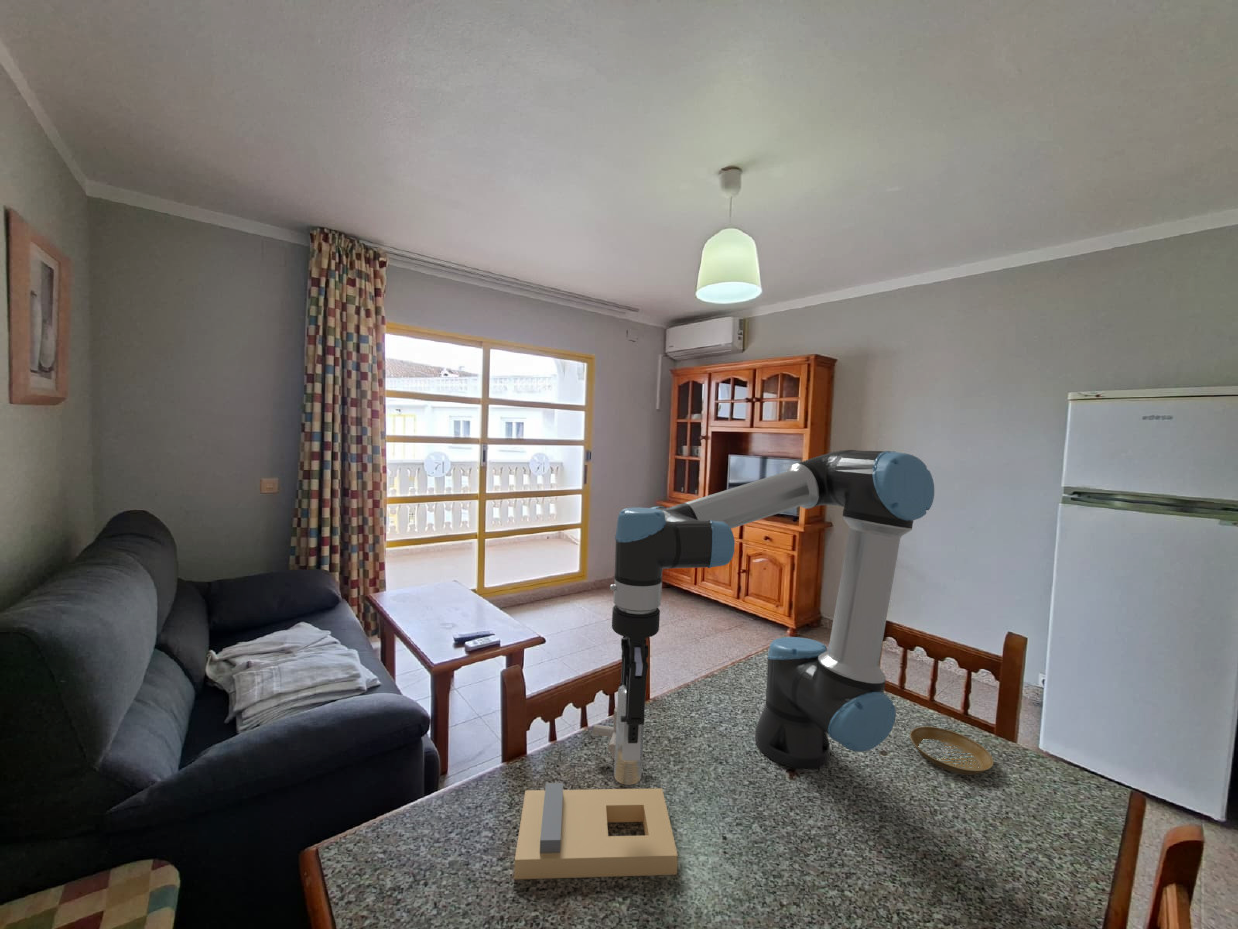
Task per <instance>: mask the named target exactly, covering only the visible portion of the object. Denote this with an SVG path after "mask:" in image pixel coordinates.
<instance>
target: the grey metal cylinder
mask: <svg viewBox="0 0 1238 929" xmlns="http://www.w3.org/2000/svg"><path fill="white" fill-rule="evenodd" d="M646 693H647V692H646ZM646 693H645V696H646V695H647V694H646ZM616 705H617V724H616V744H615V760H614V764H613V766H614V770H613V777H614V779H615V780H616V781H617V782H618V783H620V784H622V785H625V786H627V785H628V786H630V785H631V786H632V785H635V784H637V783H639V782H640V780H641V779H642V771H643V770H642V768H643V752H644V751H643V750H644V730H645V724H644V725H641V744H640V761H622V746H623V726H624V722H621V716H625V715H626V684H624V685H622V686H620V685H619V687H618V689H617V704H616ZM645 713H646V712H645V711H644V715H645Z"/></svg>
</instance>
